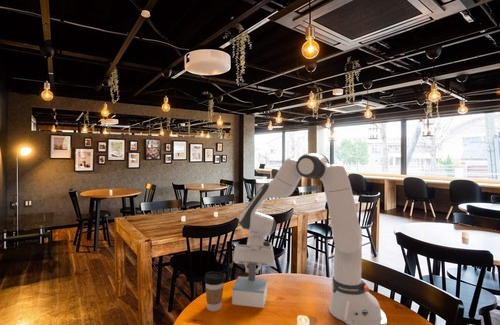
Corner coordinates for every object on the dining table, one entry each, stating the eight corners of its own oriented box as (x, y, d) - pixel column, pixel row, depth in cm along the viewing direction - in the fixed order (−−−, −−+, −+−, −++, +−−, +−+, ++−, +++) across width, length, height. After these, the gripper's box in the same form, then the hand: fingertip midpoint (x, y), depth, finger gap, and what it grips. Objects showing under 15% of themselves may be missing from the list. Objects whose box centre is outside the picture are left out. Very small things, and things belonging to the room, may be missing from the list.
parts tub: (266, 295, 127) (267, 281, 127) (263, 309, 116) (263, 293, 116) (238, 292, 130) (238, 278, 130) (232, 305, 118) (232, 290, 118)
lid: (267, 283, 127) (267, 264, 127) (263, 295, 116) (264, 275, 115) (238, 280, 130) (238, 261, 130) (232, 292, 118) (232, 272, 118)
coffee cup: (207, 303, 120) (207, 269, 120) (225, 304, 119) (226, 271, 119) (201, 313, 112) (202, 277, 112) (221, 315, 111) (221, 279, 111)
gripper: (234, 241, 135) (229, 268, 126) (274, 244, 131) (272, 272, 122) (236, 247, 140) (231, 273, 130) (275, 250, 136) (273, 277, 126)
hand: (251, 272), depth 126 cm, fingers closed on lid, 3 cm apart
